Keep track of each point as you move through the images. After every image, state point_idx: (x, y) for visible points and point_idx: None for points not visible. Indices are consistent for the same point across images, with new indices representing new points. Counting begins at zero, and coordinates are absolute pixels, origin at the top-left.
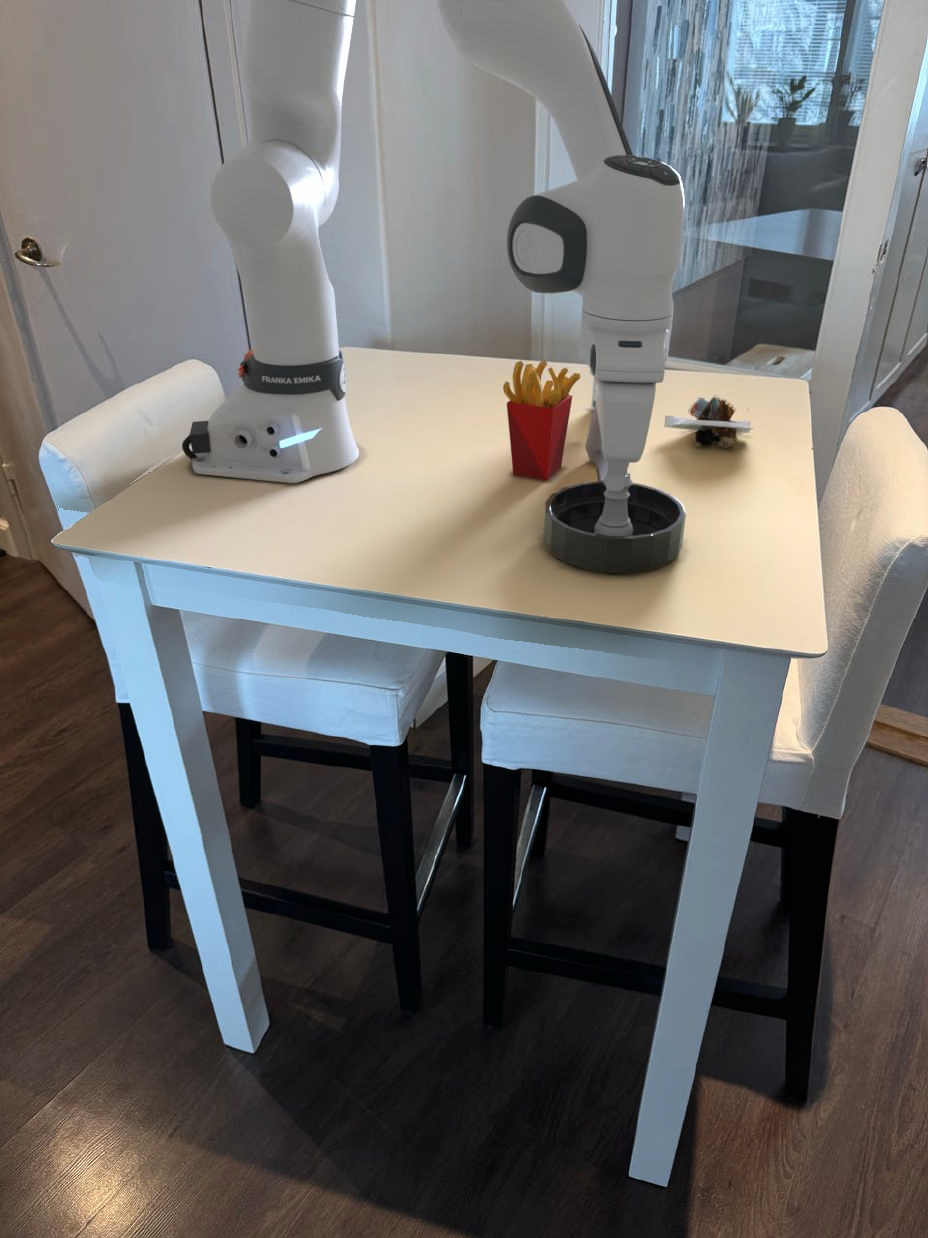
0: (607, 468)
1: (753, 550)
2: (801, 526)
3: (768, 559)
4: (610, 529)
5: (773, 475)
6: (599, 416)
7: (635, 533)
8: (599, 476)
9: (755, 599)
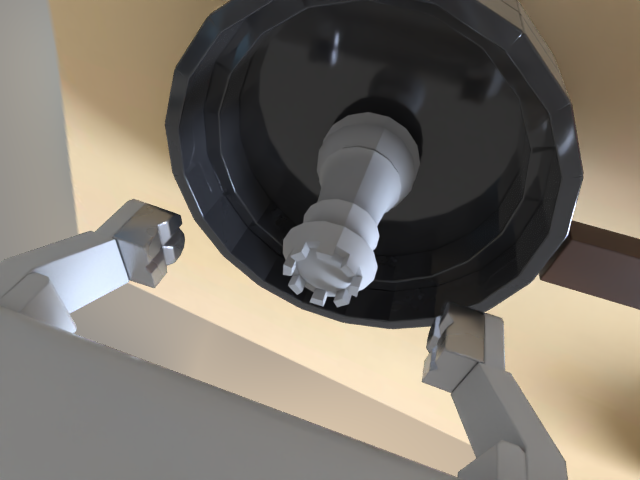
0: (65, 245)
1: (317, 327)
2: (380, 397)
3: (289, 327)
4: (325, 157)
5: (570, 464)
6: (179, 457)
7: (394, 209)
8: (612, 251)
9: (178, 264)
